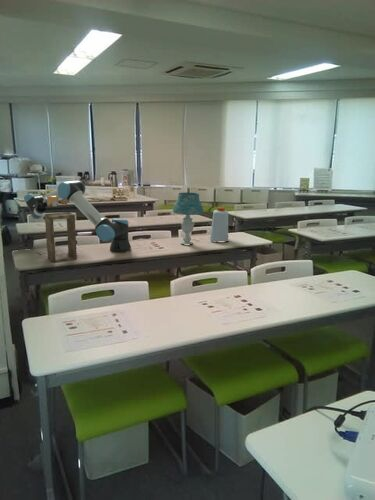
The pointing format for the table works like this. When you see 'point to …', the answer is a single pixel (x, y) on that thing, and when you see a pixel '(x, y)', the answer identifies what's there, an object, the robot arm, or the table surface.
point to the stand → (70, 233)
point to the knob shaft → (52, 200)
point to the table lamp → (188, 212)
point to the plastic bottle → (219, 225)
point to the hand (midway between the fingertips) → (48, 197)
